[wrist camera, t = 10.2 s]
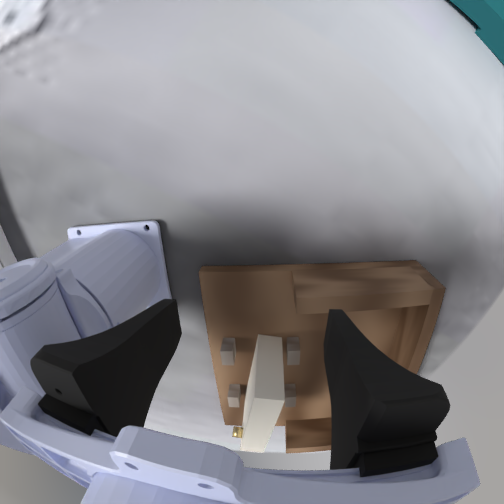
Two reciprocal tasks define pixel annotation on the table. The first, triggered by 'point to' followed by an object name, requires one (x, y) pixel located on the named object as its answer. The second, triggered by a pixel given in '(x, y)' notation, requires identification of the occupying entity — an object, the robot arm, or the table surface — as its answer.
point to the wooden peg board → (312, 329)
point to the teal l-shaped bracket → (487, 22)
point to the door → (262, 395)
